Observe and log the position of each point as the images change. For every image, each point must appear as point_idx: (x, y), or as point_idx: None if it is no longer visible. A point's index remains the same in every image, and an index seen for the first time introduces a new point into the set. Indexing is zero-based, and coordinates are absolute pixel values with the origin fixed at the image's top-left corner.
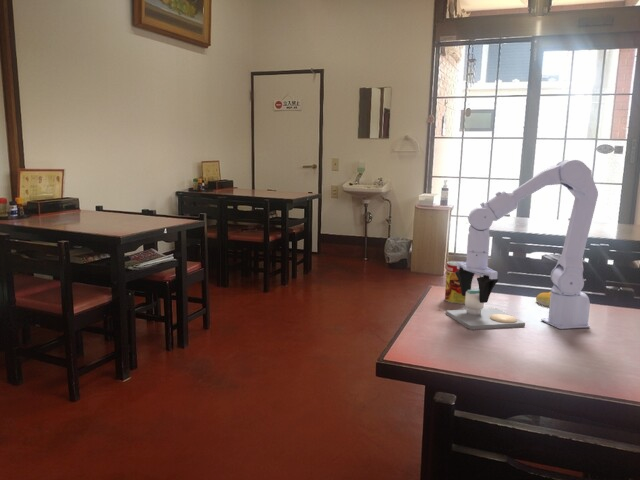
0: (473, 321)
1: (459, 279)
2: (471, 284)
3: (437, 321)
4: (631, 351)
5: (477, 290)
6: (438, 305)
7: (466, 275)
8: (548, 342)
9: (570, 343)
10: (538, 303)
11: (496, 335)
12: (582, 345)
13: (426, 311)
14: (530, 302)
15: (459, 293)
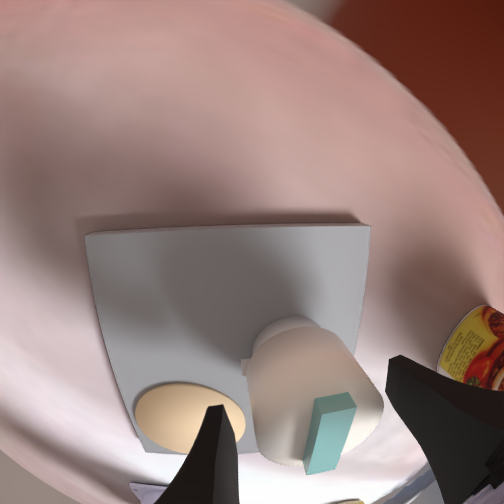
0: (153, 288)
1: (480, 398)
2: None
3: (244, 111)
4: (33, 473)
5: (313, 455)
6: (460, 250)
7: (464, 463)
8: (22, 405)
9: (34, 437)
10: (343, 502)
11: (37, 307)
12: (31, 444)
13: (409, 145)
14: (360, 492)
15: (471, 360)
